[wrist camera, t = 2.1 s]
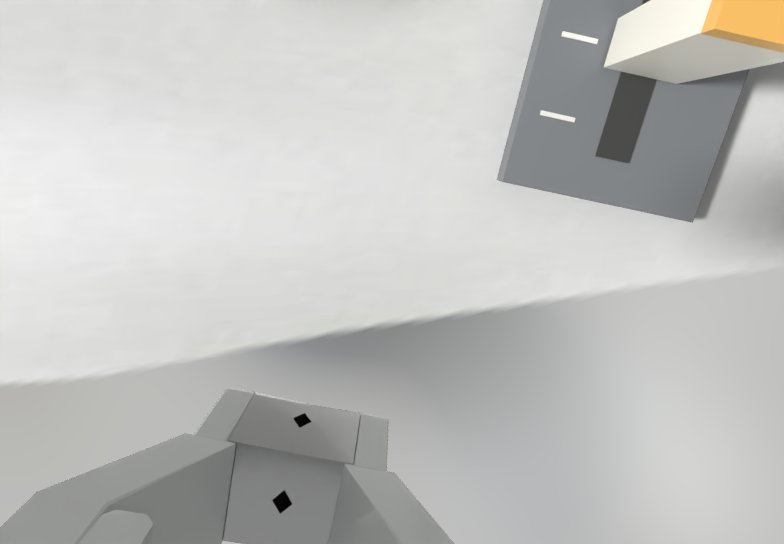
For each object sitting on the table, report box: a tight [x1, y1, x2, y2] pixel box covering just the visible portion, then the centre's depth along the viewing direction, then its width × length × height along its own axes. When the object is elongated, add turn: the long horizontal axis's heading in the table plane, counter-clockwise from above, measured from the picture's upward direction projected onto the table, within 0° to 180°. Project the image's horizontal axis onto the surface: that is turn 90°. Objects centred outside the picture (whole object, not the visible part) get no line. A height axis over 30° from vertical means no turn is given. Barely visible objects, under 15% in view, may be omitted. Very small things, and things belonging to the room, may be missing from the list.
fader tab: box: [604, 0, 784, 84], centre depth 26 cm, size 3×5×12 cm, turn 78°
